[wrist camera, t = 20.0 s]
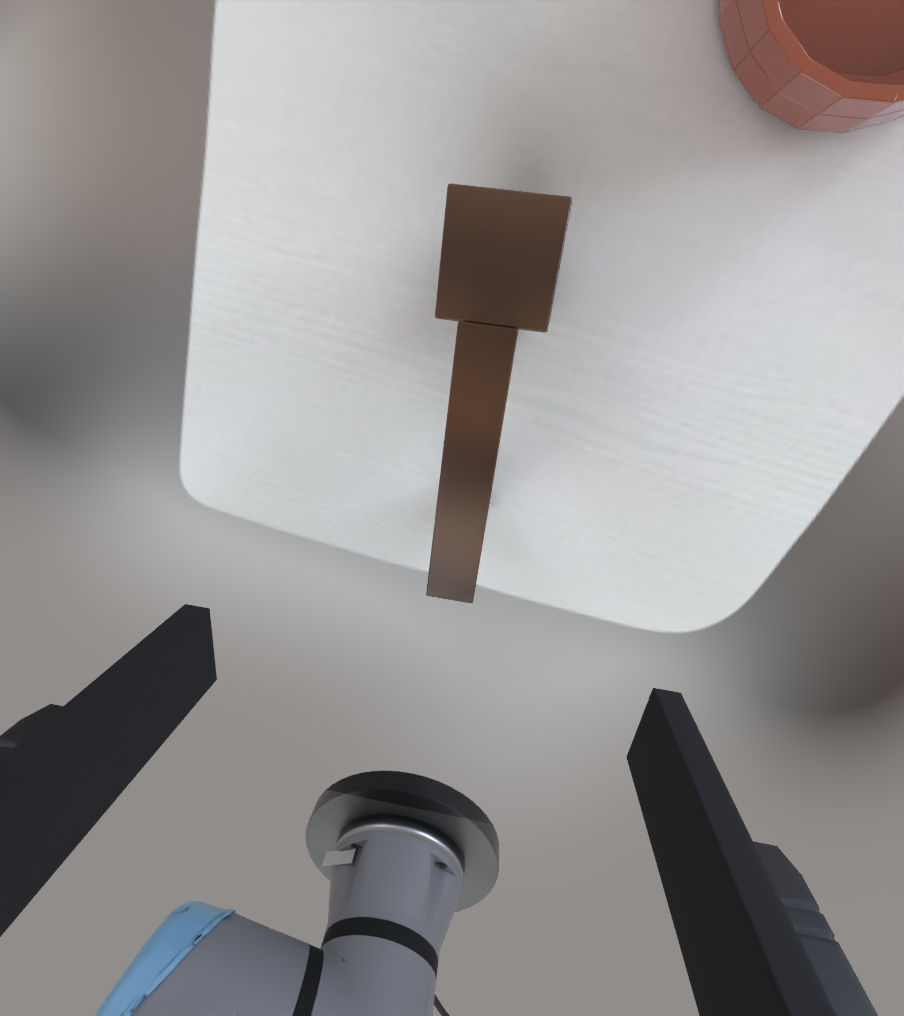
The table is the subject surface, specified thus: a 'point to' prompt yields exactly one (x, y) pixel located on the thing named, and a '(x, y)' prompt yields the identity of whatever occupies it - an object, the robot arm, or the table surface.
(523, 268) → the brown wooden mallet
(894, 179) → the table surface
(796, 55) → the bowl
